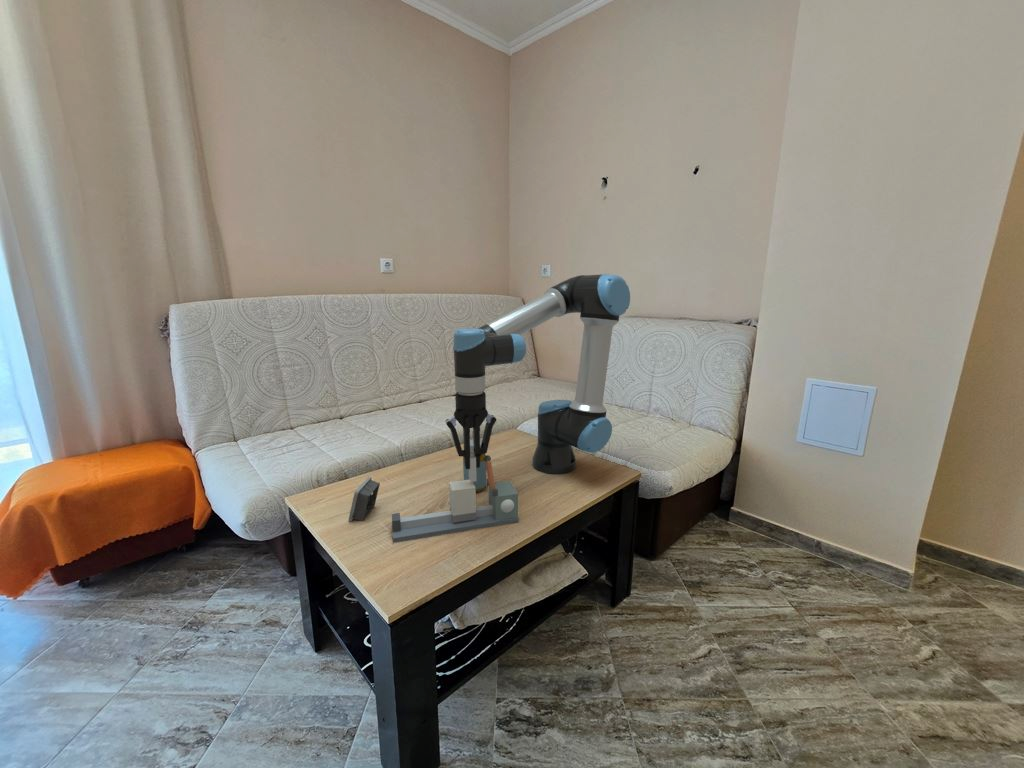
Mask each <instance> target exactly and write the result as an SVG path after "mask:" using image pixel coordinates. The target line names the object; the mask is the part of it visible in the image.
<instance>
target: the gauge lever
mask: <svg viewBox="0 0 1024 768" xmlns="http://www.w3.org/2000/svg"><path fill="white" fill-rule="evenodd" d="M485 455H486V456H485V457H484V461H485V464H486V478H487V479H488V483H489V485H490V487H491V489H495V484H494V483H495V479H494V474H493V472H494V471H493V465H492V461H491V460H492V457H491V456H490V455H488V454H485ZM492 491H493V490H492Z"/></svg>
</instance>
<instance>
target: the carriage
mask: <svg viewBox="0 0 1024 768" xmlns="http://www.w3.org/2000/svg"><path fill="white" fill-rule="evenodd" d="M448 484H449V488H448V489H449V490H448V491H449V511H452V520H453V523H456V522H462V521H468V520H475V519H476V507H477V502H476V500H477V498H476V497H477V496H476V494H477V492H476V490H475V486H474V483H473V482H471V481H470V480H464V479H462V480H455V481H449V483H448Z"/></svg>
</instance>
